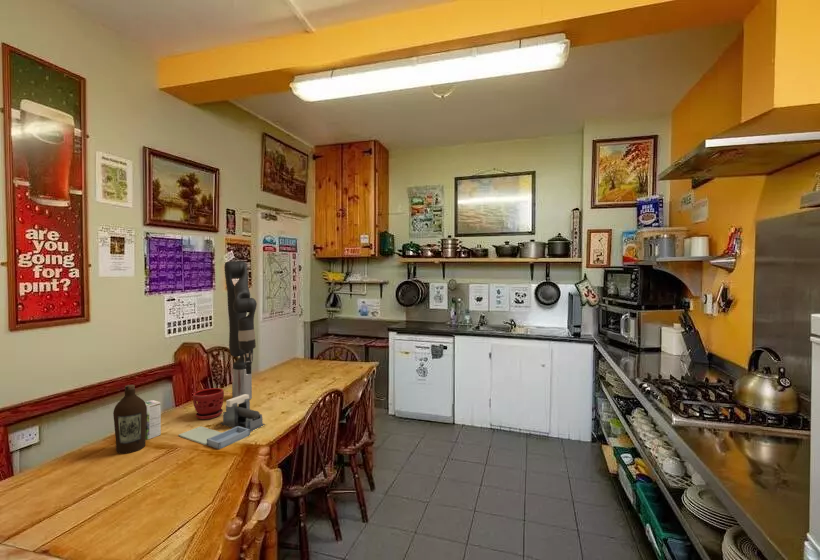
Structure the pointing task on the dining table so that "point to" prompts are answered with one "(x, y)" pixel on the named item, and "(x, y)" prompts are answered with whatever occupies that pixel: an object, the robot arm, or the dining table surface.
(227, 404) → the bar
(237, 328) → the robot arm
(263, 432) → the dining table surface
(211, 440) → the tray
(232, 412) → the clamp rack
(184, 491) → the dining table surface
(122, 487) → the dining table surface
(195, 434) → the mat
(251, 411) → the dark grey cylinder
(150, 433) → the syrup box
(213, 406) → the plant pot
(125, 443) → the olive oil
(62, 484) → the dining table surface
